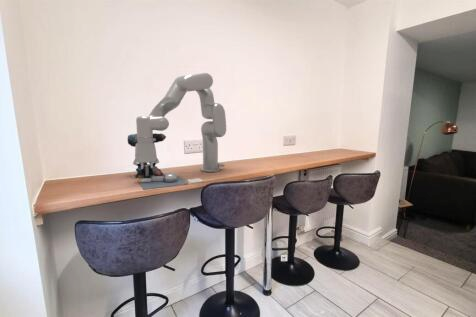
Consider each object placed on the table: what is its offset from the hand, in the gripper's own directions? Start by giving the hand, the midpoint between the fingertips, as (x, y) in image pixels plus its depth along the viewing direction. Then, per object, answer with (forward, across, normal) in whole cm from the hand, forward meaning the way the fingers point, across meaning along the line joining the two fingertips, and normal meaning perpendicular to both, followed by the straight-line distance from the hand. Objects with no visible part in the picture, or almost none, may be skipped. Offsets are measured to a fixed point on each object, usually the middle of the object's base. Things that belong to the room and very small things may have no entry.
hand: (147, 175), depth 126 cm
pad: (+3, -23, +10) cm, 25 cm away
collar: (+3, -6, +3) cm, 7 cm away
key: (+2, 0, 0) cm, 2 cm away
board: (+3, -7, +5) cm, 9 cm away
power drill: (+3, -4, -11) cm, 12 cm away
